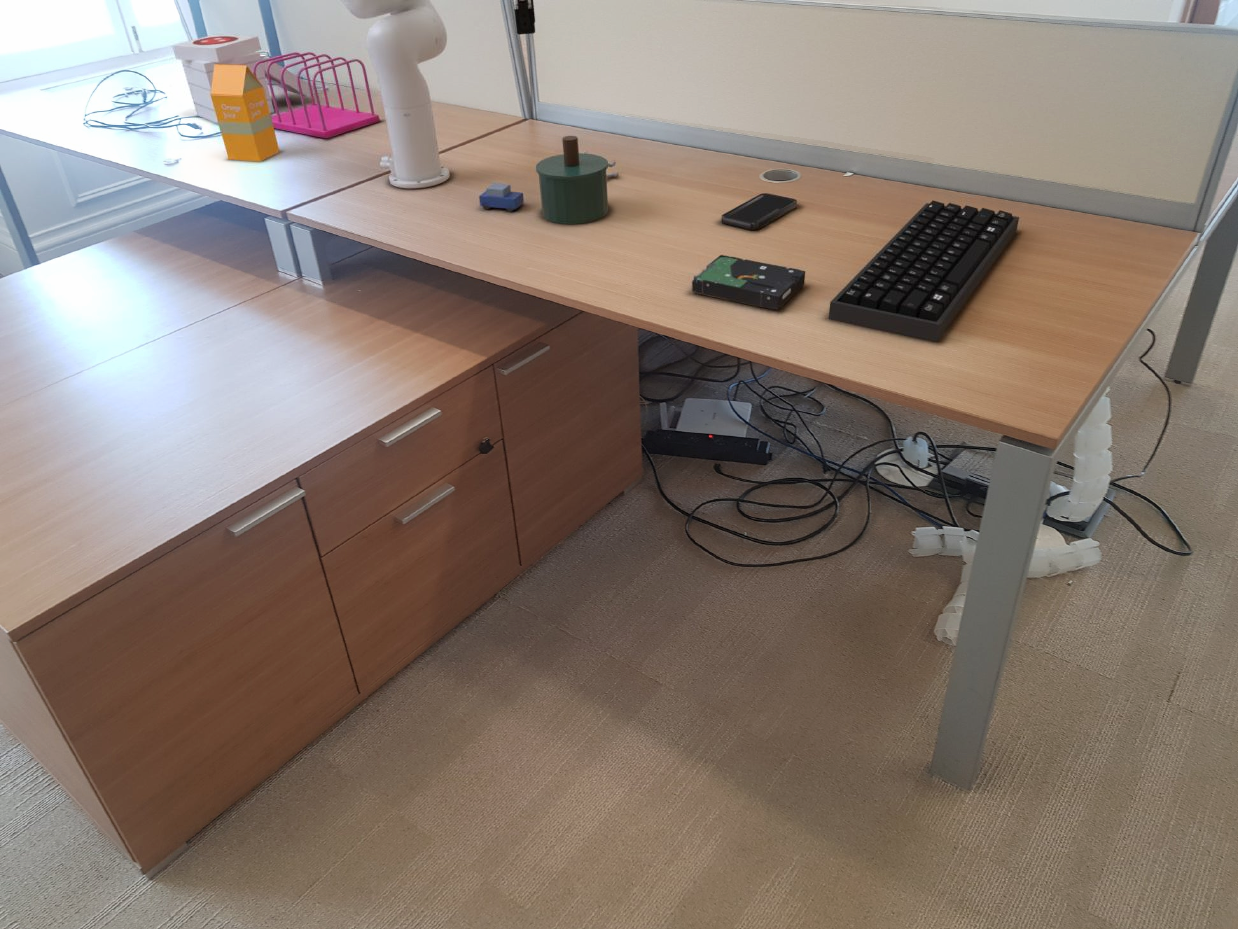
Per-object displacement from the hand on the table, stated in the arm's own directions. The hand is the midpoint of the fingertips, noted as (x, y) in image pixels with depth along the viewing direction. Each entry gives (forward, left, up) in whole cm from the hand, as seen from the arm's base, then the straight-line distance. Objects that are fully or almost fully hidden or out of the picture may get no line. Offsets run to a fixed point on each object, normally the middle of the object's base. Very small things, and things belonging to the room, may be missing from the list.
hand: (526, 28), depth 168 cm
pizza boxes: (-106, +45, -31) cm, 119 cm away
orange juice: (-78, +10, -31) cm, 85 cm away
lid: (+10, -6, -22) cm, 25 cm away
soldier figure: (+6, +11, -31) cm, 33 cm away
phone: (+44, +1, -31) cm, 54 cm away
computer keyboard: (+76, -17, -31) cm, 84 cm away
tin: (+10, -6, -31) cm, 33 cm away
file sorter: (-78, +36, -31) cm, 91 cm away
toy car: (-5, -7, -31) cm, 32 cm away
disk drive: (+50, -31, -31) cm, 66 cm away
